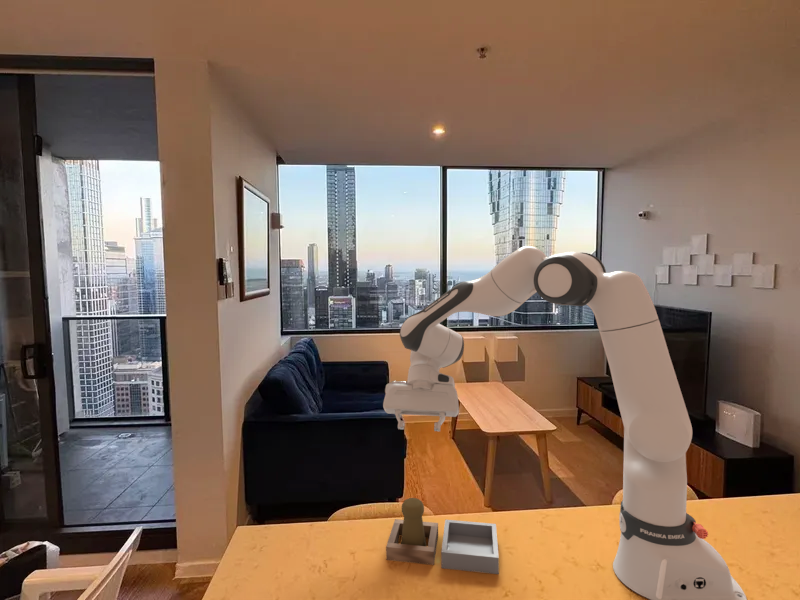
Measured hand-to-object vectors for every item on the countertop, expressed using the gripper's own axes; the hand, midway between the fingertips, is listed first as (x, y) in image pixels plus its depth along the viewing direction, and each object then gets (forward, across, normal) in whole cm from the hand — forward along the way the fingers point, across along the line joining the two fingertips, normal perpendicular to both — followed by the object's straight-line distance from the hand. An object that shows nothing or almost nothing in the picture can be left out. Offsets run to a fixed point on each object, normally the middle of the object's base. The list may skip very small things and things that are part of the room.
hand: (418, 429), depth 108 cm
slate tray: (+25, +13, +8) cm, 29 cm away
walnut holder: (+25, 0, +8) cm, 26 cm away
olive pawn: (+25, 0, +8) cm, 26 cm away
